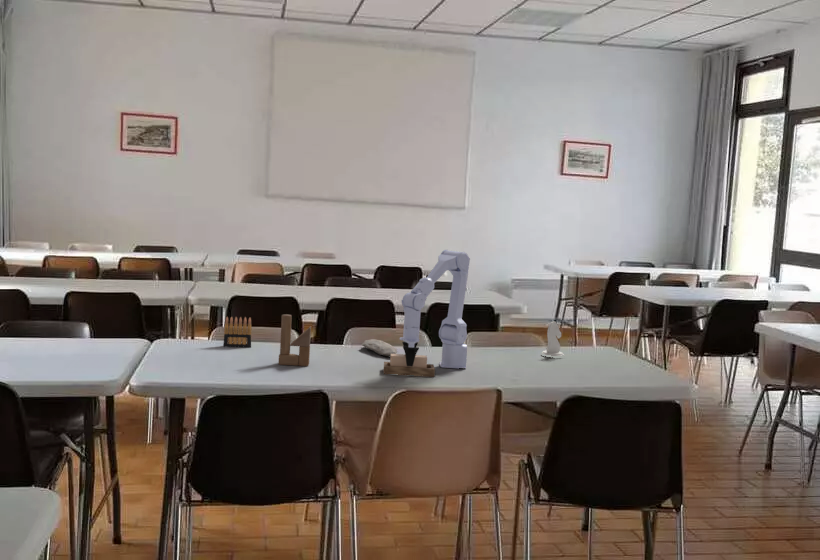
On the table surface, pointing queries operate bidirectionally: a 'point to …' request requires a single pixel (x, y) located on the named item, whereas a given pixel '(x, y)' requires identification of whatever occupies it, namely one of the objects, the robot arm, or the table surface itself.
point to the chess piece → (553, 340)
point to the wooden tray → (409, 370)
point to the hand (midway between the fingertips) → (409, 363)
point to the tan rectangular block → (400, 360)
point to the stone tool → (380, 347)
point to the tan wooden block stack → (293, 344)
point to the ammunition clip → (237, 333)
